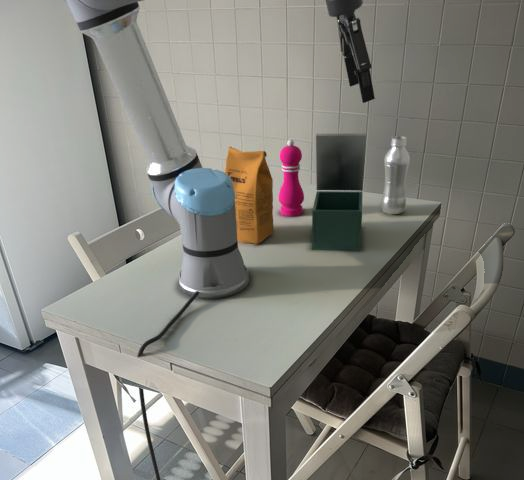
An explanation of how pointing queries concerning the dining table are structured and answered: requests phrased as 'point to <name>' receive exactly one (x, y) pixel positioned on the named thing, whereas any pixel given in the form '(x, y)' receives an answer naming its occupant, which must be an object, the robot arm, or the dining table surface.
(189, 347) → the dining table surface
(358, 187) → the lid
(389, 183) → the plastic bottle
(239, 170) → the coffee package
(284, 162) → the pepper mill
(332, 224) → the tin
